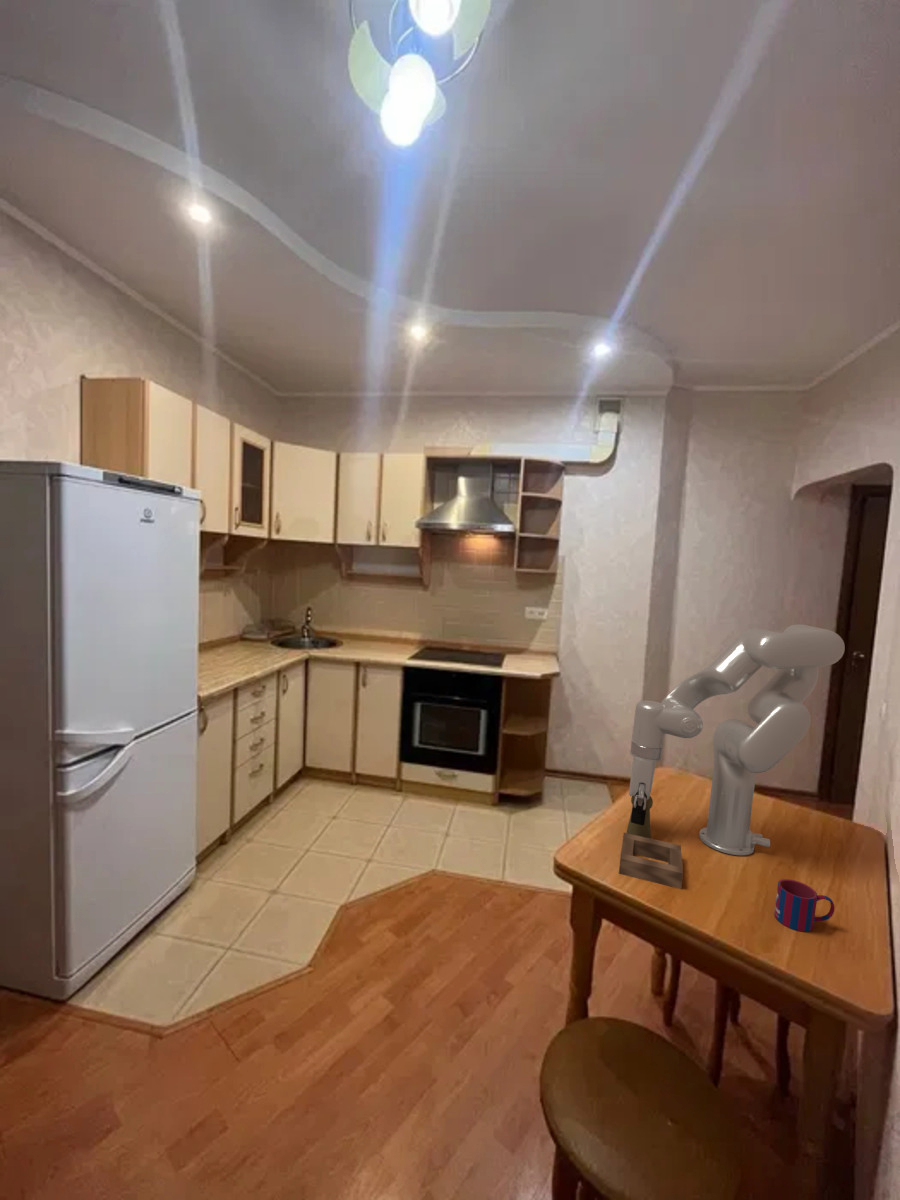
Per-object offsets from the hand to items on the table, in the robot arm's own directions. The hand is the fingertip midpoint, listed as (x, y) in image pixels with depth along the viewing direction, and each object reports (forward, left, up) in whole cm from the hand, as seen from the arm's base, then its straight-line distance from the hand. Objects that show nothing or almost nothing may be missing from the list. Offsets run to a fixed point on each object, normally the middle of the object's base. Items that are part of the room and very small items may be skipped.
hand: (638, 815), depth 144 cm
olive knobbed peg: (-1, 0, -6) cm, 6 cm away
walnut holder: (-4, +14, -5) cm, 15 cm away
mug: (-33, +22, -6) cm, 40 cm away
